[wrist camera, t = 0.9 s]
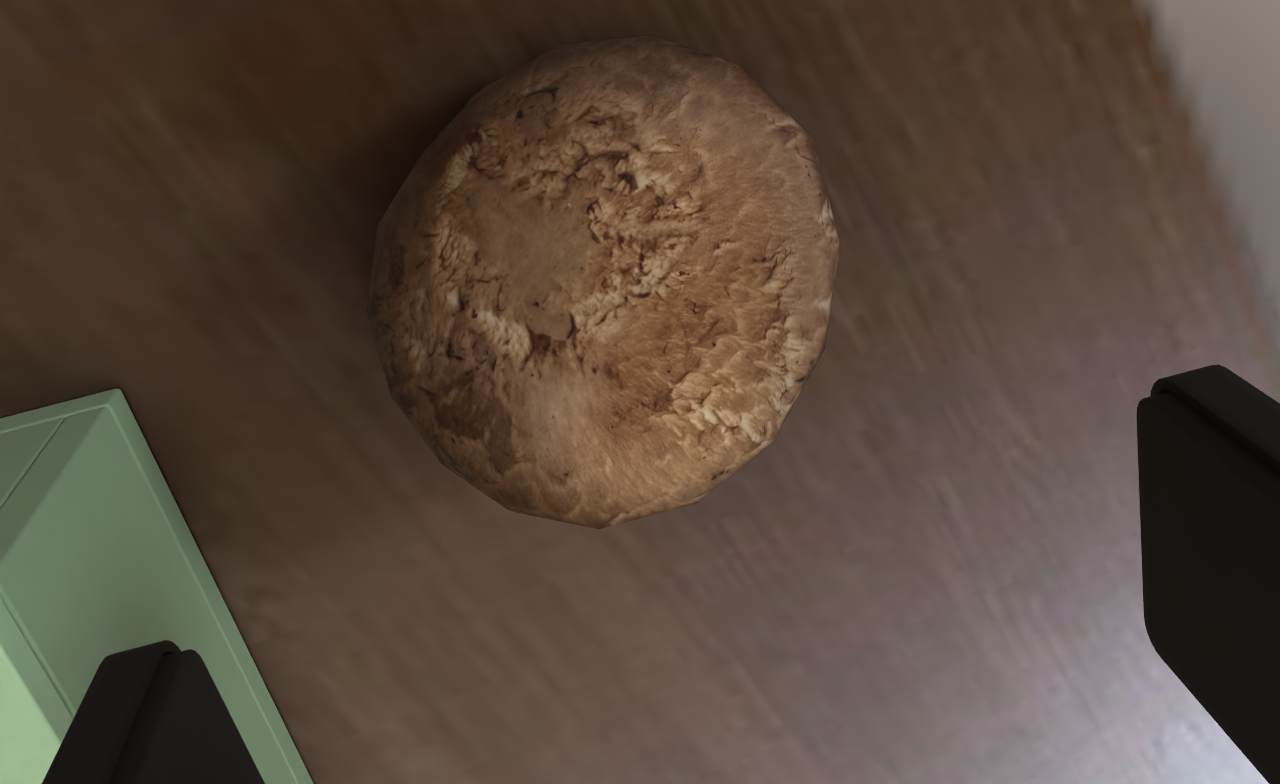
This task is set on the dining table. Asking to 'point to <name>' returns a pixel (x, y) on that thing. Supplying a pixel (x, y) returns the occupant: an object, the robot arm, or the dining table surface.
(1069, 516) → the dining table surface
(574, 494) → the mushroom
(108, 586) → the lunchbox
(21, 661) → the green flat panel
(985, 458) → the dining table surface
